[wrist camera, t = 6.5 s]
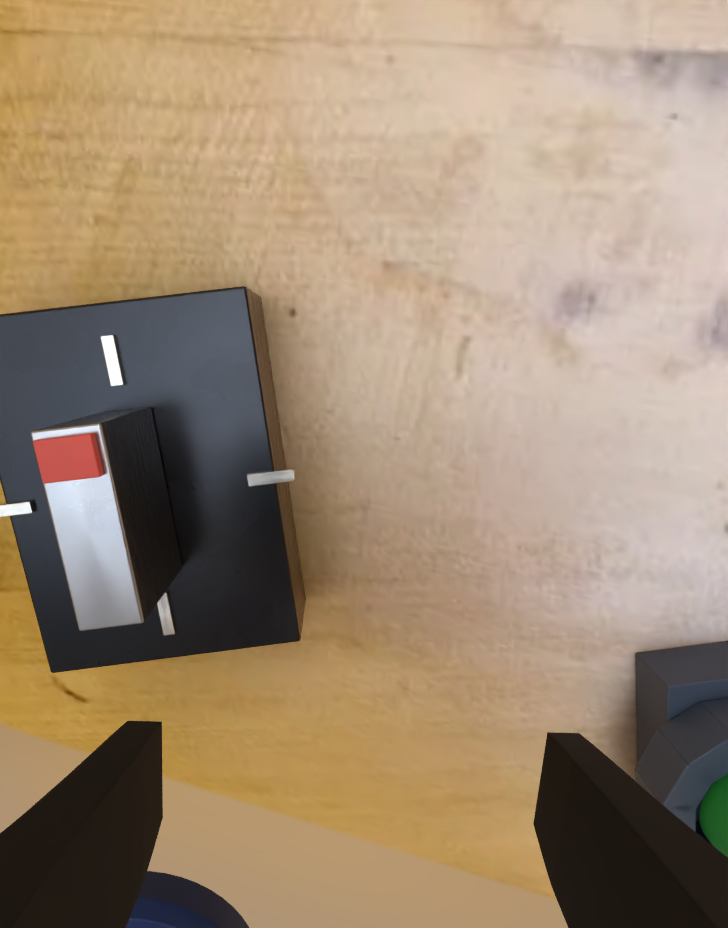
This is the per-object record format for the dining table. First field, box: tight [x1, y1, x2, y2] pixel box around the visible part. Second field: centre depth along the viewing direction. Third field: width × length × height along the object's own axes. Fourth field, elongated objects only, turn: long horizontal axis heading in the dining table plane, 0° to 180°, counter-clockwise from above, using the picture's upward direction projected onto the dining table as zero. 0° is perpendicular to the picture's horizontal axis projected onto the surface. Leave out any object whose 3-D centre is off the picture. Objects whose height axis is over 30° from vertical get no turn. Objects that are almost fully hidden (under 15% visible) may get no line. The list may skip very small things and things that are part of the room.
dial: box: [31, 407, 182, 631], centre depth 15 cm, size 5×2×4 cm, turn 7°
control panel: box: [0, 286, 306, 673], centre depth 18 cm, size 9×11×3 cm
